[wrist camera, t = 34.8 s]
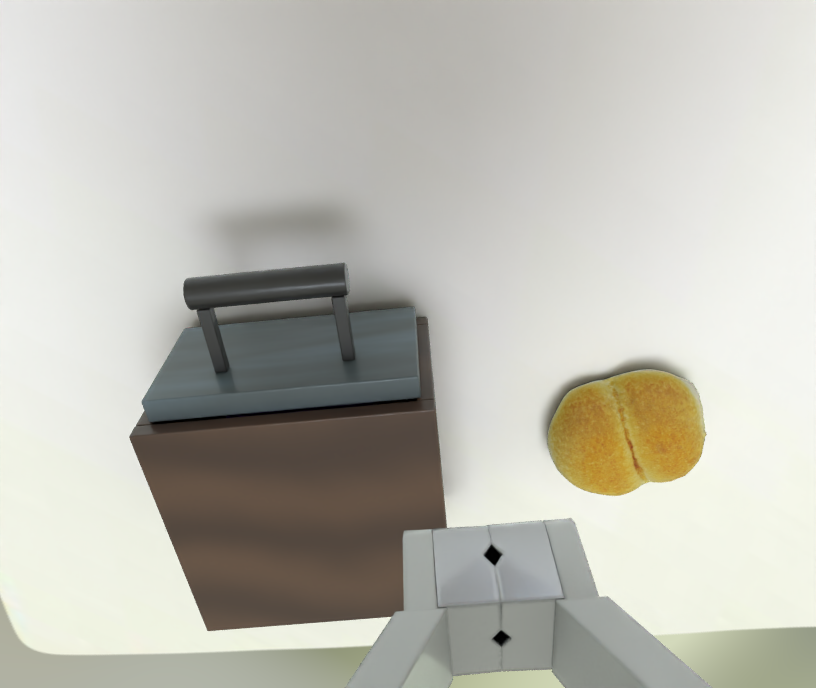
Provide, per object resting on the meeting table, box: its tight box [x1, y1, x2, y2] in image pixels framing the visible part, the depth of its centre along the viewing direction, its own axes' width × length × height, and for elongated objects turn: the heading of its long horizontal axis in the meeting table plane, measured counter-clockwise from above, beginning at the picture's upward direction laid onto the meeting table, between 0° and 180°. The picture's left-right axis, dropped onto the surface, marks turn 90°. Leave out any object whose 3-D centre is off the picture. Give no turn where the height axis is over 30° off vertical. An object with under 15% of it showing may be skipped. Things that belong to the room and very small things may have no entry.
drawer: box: [142, 263, 421, 422], centre depth 33 cm, size 17×12×7 cm
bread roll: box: [547, 369, 706, 496], centre depth 37 cm, size 8×9×4 cm
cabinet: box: [129, 317, 447, 631], centre depth 35 cm, size 14×14×9 cm
